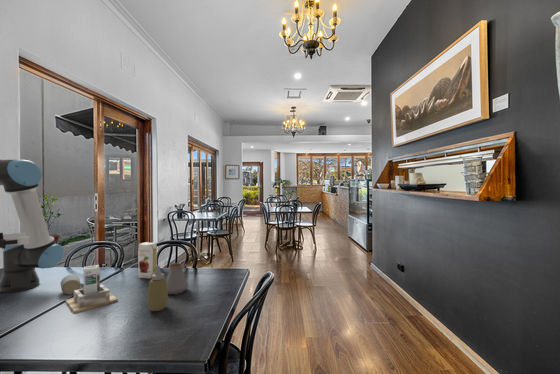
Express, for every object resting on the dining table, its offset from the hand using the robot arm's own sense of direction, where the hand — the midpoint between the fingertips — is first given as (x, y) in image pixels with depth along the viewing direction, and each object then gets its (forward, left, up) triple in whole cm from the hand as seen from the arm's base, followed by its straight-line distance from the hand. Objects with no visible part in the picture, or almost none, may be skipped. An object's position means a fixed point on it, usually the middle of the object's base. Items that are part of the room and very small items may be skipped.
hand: (27, 237), depth 113 cm
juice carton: (-9, +52, -30) cm, 61 cm away
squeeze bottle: (+36, +38, -30) cm, 60 cm away
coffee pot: (+22, +57, -30) cm, 68 cm away
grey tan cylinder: (-11, +18, -30) cm, 37 cm away
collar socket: (+8, +21, -30) cm, 37 cm away
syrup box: (+8, +21, -29) cm, 37 cm away
